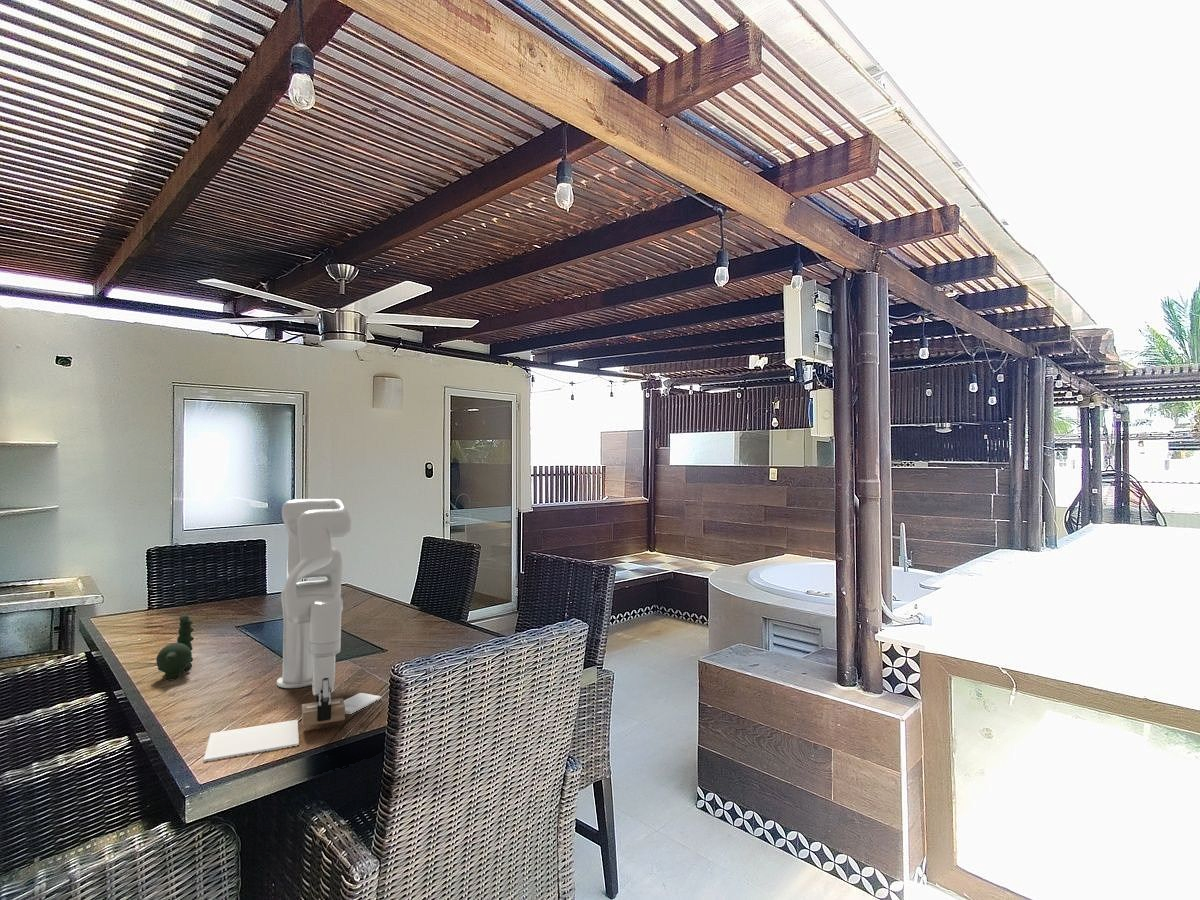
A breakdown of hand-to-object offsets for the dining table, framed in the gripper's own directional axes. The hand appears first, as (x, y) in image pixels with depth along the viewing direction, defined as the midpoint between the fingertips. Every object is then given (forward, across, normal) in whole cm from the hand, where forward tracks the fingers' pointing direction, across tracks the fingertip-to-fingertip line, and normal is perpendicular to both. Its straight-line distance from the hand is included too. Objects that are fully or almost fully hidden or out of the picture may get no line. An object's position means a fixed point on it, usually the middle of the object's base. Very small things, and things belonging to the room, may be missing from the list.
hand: (323, 714), depth 165 cm
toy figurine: (+6, -67, -41) cm, 79 cm away
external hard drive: (+5, -13, +9) cm, 17 cm away
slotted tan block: (+1, 0, 0) cm, 1 cm away
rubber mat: (+4, +1, -16) cm, 16 cm away
